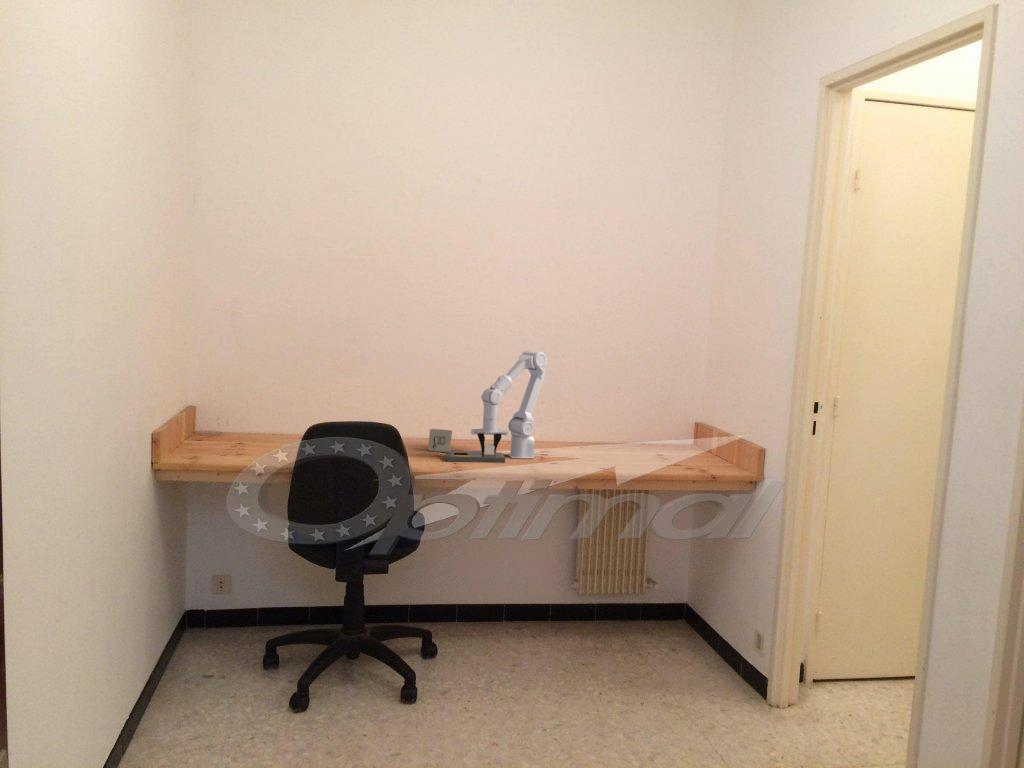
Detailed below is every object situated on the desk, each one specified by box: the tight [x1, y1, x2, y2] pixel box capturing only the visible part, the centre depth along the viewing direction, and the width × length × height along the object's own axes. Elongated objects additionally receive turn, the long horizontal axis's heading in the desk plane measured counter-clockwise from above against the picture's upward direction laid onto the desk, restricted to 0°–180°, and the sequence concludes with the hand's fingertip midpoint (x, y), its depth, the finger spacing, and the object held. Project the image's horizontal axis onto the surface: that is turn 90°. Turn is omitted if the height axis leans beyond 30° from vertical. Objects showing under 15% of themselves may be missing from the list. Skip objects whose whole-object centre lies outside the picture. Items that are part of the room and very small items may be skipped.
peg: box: [483, 443, 495, 456], centre depth 316 cm, size 4×4×6 cm
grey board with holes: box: [444, 451, 506, 464], centre depth 315 cm, size 23×10×2 cm, turn 101°
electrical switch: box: [427, 428, 453, 453], centre depth 328 cm, size 9×5×9 cm, turn 85°
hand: (488, 452), depth 316 cm, fingers closed on peg, 4 cm apart
